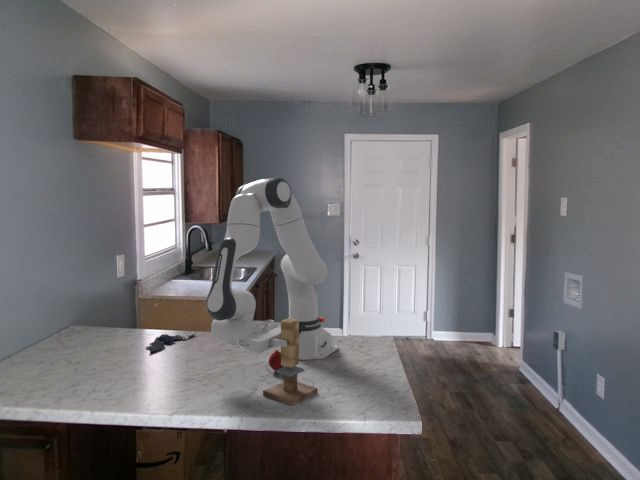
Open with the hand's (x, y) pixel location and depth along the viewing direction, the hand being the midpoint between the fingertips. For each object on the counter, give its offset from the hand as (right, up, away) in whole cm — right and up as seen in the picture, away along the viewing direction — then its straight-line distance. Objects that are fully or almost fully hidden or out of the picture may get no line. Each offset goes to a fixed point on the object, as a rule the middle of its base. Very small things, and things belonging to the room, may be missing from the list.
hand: (292, 341), depth 163 cm
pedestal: (-1, -17, +2) cm, 17 cm away
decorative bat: (-55, -12, +55) cm, 78 cm away
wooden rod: (-1, -7, +1) cm, 8 cm away
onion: (-6, -15, +22) cm, 27 cm away
